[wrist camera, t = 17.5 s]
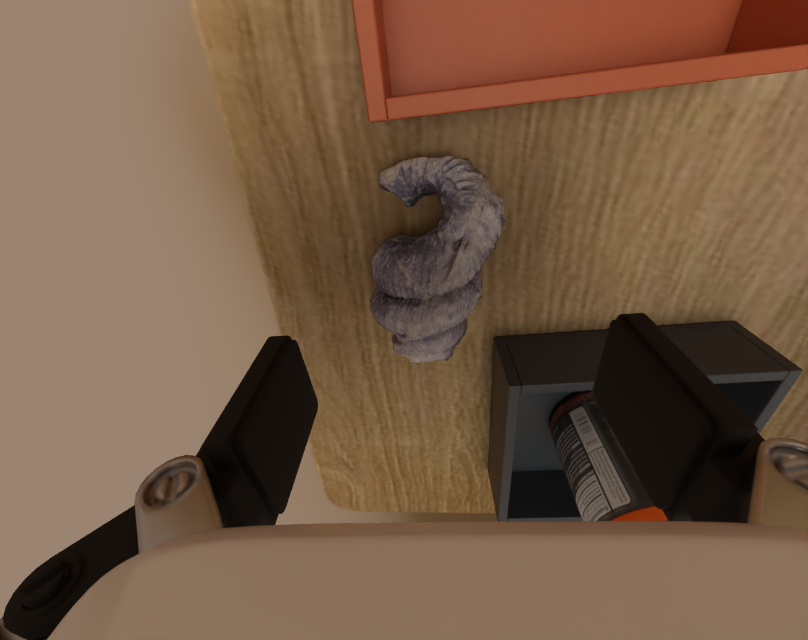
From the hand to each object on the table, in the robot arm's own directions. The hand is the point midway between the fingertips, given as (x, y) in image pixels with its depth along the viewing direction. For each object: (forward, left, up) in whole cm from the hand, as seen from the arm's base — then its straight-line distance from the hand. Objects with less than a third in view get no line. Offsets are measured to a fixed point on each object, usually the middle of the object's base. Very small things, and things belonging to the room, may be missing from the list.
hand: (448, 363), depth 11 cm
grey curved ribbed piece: (0, 0, -9) cm, 9 cm away
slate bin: (+10, -12, -8) cm, 18 cm away
